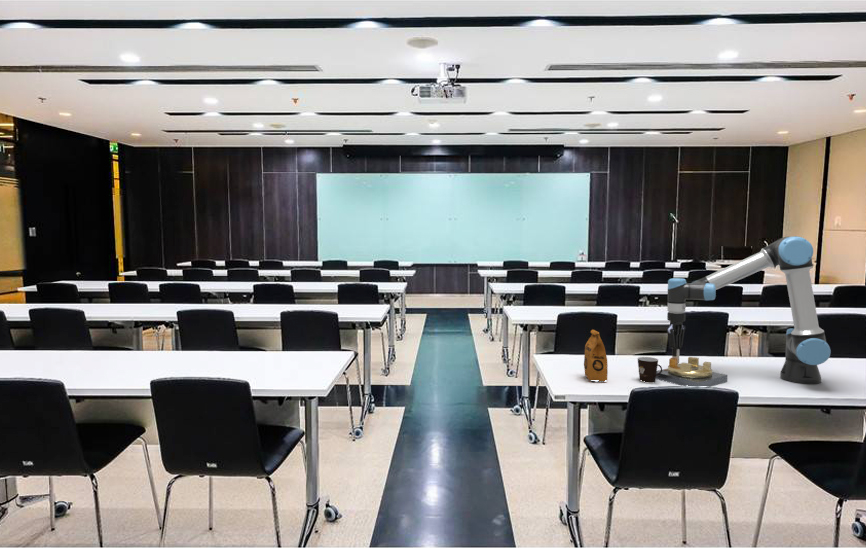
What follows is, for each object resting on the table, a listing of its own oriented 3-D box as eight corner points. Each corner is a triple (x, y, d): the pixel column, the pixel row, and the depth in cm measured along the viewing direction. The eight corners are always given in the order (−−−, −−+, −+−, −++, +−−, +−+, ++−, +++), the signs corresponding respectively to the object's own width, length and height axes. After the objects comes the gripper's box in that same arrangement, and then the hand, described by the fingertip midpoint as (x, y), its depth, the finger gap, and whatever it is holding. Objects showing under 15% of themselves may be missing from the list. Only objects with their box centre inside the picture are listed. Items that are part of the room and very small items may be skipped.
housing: (727, 381, 238) (727, 374, 238) (698, 389, 227) (698, 382, 227) (681, 371, 257) (681, 364, 257) (652, 378, 245) (652, 371, 245)
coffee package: (586, 382, 239) (586, 333, 237) (582, 375, 251) (583, 329, 250) (609, 383, 237) (610, 334, 236) (604, 376, 250) (605, 329, 248)
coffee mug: (634, 378, 245) (634, 356, 244) (653, 378, 245) (653, 356, 244) (643, 385, 233) (644, 362, 233) (663, 385, 233) (664, 362, 233)
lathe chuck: (695, 367, 252) (696, 355, 251) (721, 376, 234) (721, 364, 234) (660, 368, 249) (660, 357, 249) (682, 378, 232) (683, 366, 231)
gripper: (676, 314, 239) (676, 366, 240) (691, 311, 246) (690, 362, 248) (661, 312, 245) (660, 363, 246) (675, 309, 252) (675, 359, 254)
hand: (675, 362), depth 247 cm, fingers closed
